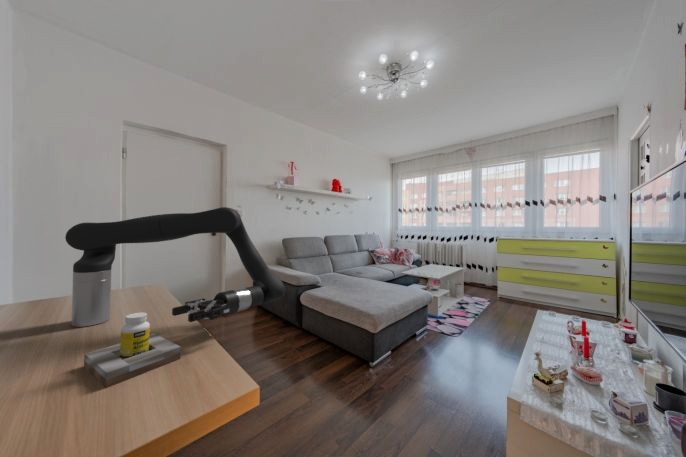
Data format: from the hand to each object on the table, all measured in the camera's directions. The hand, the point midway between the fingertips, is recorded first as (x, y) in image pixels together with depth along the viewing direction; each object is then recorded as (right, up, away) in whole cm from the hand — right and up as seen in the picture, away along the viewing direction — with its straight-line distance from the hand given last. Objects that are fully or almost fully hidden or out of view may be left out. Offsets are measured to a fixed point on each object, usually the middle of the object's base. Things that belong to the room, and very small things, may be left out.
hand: (180, 315), depth 70 cm
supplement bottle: (-6, -7, -8) cm, 12 cm away
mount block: (-6, -8, -9) cm, 13 cm away
